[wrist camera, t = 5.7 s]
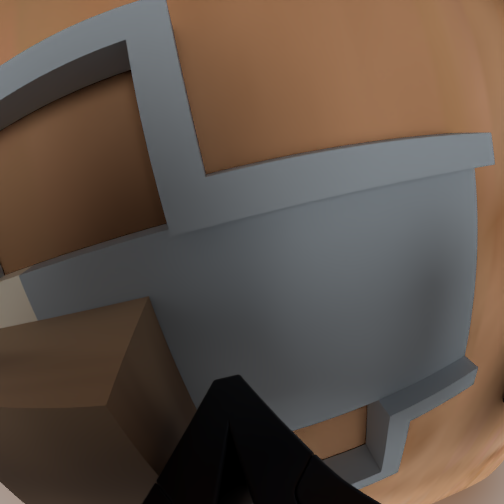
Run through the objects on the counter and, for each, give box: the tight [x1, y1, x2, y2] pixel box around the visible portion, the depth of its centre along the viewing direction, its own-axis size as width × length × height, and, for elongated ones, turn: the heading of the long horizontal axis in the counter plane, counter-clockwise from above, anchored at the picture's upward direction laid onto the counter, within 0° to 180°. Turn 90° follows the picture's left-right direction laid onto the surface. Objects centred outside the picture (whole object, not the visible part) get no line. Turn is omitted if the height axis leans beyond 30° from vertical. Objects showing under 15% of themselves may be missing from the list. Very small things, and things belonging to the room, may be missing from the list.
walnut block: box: [0, 296, 197, 504], centre depth 6 cm, size 5×6×4 cm
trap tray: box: [0, 0, 495, 489], centre depth 8 cm, size 20×19×2 cm
